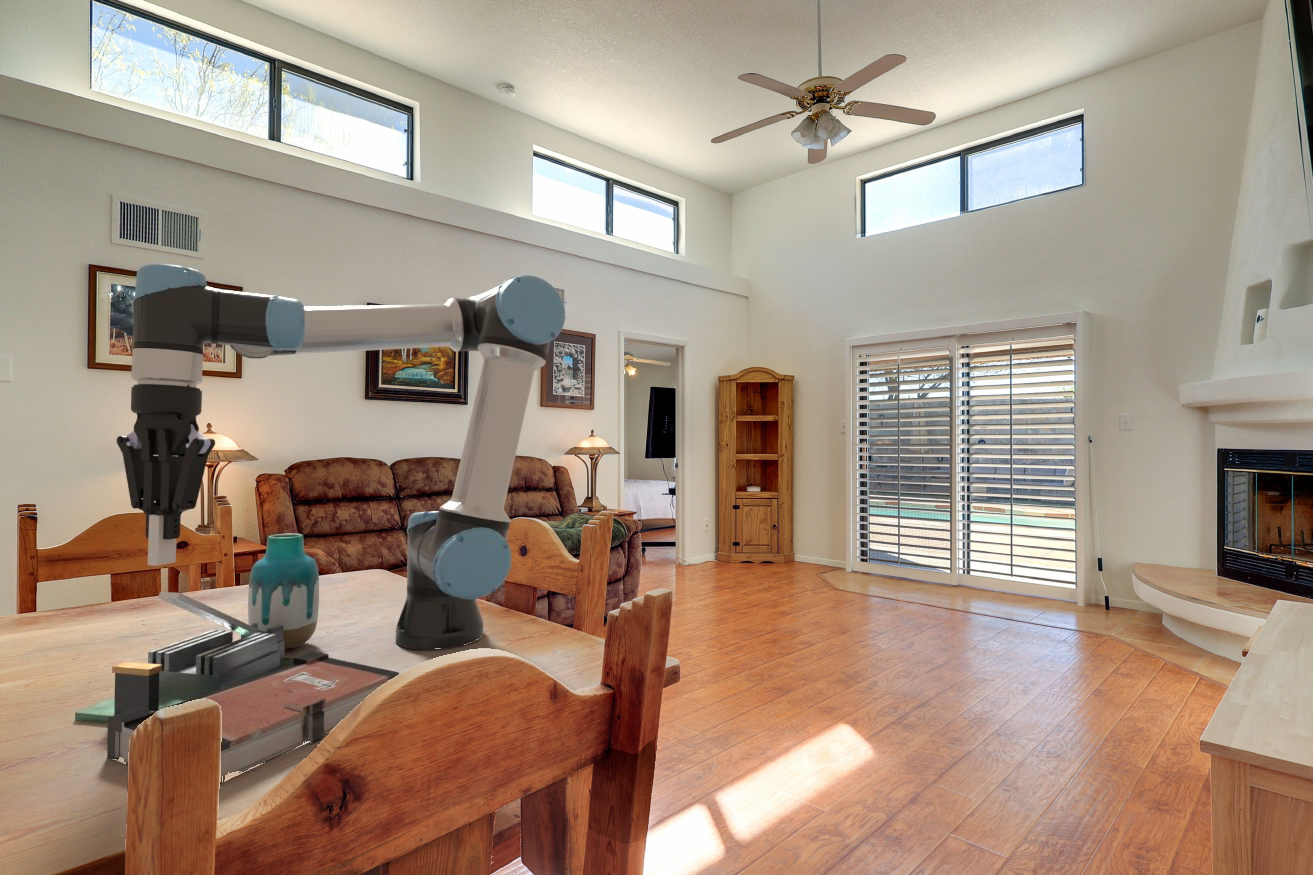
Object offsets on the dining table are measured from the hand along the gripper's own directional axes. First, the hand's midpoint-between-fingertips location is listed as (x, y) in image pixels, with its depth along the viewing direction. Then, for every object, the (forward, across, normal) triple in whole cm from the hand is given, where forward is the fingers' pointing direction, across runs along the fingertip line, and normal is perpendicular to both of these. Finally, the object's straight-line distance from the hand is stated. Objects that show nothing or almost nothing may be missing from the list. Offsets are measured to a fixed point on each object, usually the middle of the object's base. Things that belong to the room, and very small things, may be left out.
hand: (161, 563), depth 88 cm
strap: (+10, 0, -9) cm, 13 cm away
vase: (+19, +3, -26) cm, 33 cm away
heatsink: (+19, 0, -7) cm, 21 cm away
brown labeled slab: (+20, -18, +2) cm, 27 cm away
